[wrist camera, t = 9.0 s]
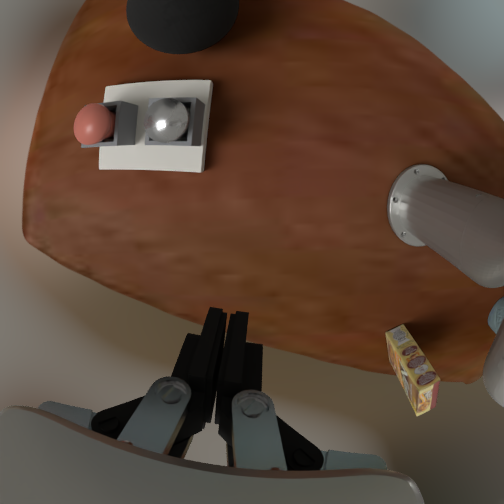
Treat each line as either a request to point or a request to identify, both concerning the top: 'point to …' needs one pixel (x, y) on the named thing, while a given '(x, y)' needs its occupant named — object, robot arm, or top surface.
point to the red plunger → (94, 124)
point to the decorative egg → (181, 23)
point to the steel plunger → (167, 120)
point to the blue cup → (496, 315)
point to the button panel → (135, 137)
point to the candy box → (412, 370)
